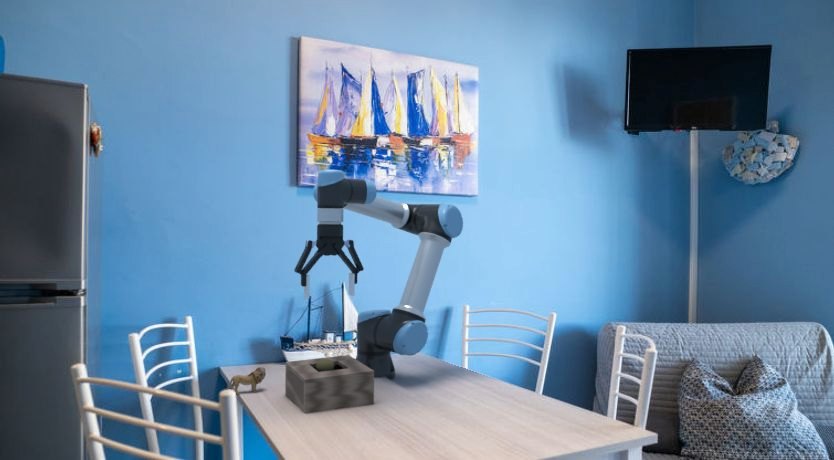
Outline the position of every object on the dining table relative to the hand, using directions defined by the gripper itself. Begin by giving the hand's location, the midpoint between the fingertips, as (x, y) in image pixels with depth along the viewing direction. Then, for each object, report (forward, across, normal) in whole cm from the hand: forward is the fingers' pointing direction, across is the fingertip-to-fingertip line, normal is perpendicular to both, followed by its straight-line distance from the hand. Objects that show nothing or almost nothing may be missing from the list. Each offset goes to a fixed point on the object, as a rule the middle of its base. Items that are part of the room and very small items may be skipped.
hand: (329, 296), depth 159 cm
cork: (+29, +1, 0) cm, 30 cm away
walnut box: (+30, 0, 0) cm, 30 cm away
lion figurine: (+31, +20, -18) cm, 41 cm away
